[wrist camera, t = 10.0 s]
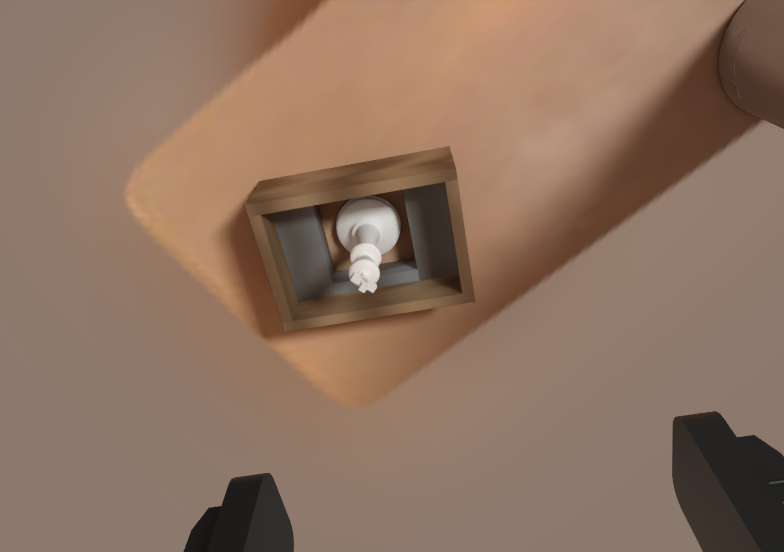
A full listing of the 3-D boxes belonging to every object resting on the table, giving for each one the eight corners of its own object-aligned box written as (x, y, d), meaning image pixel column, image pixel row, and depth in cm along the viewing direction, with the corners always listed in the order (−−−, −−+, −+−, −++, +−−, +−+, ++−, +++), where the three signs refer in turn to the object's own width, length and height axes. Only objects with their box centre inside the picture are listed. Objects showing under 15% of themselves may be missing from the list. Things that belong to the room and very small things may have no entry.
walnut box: (449, 146, 44) (455, 167, 39) (467, 269, 48) (475, 301, 44) (259, 181, 45) (244, 205, 41) (294, 298, 50) (284, 332, 45)
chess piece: (379, 265, 48) (376, 335, 39) (324, 235, 47) (308, 299, 38) (413, 216, 46) (418, 277, 37) (357, 182, 45) (348, 238, 36)
